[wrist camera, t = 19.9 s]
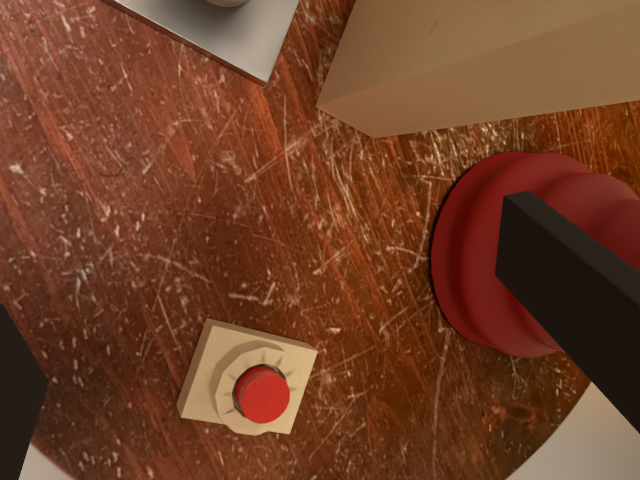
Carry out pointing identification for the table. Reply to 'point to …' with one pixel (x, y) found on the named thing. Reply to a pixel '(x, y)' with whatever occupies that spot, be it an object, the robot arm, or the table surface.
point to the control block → (231, 364)
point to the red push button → (262, 394)
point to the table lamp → (483, 234)
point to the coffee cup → (228, 2)
